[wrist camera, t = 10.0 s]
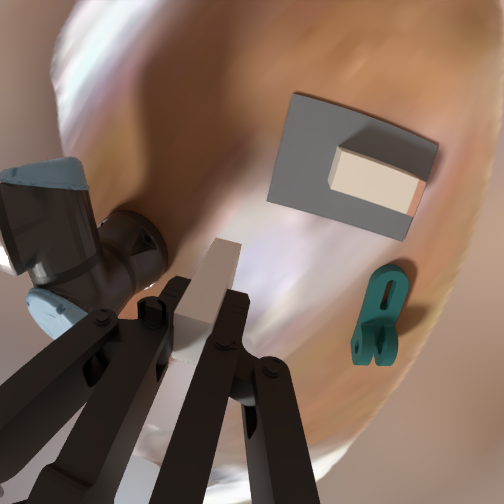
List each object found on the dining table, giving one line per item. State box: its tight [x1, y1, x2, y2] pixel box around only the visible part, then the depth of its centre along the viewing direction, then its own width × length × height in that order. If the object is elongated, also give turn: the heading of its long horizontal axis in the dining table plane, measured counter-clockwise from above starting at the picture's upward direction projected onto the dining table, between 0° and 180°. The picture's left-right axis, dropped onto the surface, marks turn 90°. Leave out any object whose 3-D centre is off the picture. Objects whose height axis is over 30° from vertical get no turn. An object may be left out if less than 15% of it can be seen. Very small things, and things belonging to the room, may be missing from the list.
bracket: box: [351, 265, 409, 366], centre depth 44 cm, size 18×7×8 cm, turn 179°
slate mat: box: [267, 94, 438, 242], centre depth 37 cm, size 22×16×1 cm
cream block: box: [328, 146, 426, 217], centre depth 35 cm, size 5×5×12 cm
